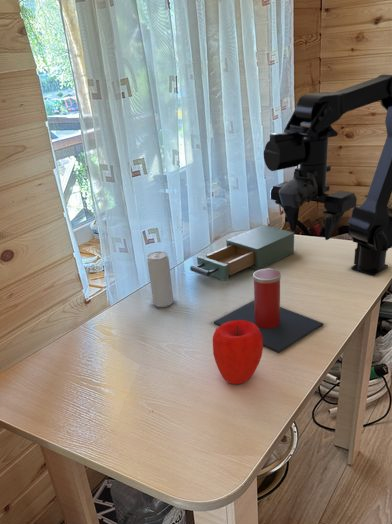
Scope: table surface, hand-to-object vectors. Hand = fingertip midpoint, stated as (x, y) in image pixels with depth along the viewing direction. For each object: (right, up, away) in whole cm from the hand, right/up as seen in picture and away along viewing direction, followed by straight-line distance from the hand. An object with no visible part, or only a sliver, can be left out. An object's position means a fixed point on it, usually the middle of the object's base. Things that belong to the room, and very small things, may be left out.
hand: (310, 235), depth 114 cm
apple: (-18, -31, -21) cm, 41 cm away
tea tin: (-10, -20, -6) cm, 23 cm away
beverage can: (-33, -15, +6) cm, 37 cm away
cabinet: (-8, 0, +26) cm, 27 cm away
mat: (-10, -20, -6) cm, 23 cm away
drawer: (-18, -5, +18) cm, 26 cm away
